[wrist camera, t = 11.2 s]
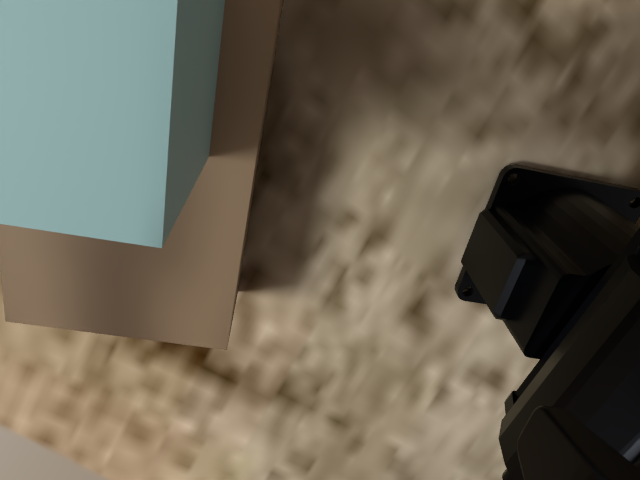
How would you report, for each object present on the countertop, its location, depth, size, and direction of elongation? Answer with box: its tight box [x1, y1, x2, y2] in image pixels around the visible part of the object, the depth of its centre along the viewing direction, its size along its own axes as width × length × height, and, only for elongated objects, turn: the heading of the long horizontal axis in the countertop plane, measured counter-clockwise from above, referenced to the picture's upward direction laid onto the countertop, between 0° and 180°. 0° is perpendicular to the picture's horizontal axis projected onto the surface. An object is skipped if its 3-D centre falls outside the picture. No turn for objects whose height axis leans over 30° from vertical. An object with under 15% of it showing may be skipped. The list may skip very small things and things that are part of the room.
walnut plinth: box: [0, 0, 283, 350], centre depth 15 cm, size 8×20×4 cm, turn 168°
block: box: [0, 0, 225, 248], centre depth 11 cm, size 5×5×6 cm
